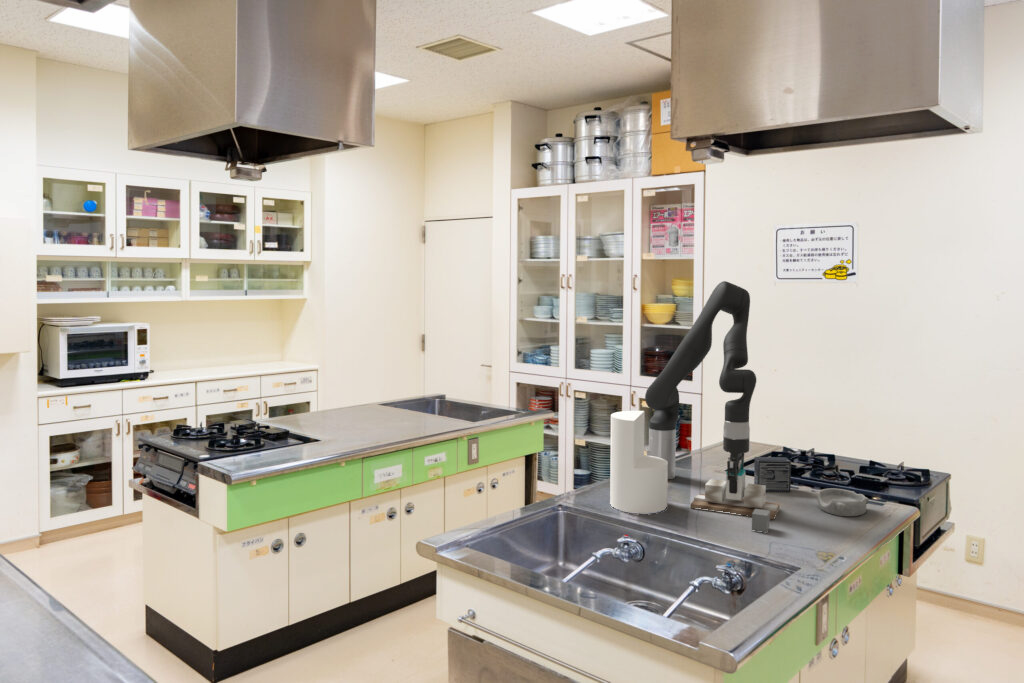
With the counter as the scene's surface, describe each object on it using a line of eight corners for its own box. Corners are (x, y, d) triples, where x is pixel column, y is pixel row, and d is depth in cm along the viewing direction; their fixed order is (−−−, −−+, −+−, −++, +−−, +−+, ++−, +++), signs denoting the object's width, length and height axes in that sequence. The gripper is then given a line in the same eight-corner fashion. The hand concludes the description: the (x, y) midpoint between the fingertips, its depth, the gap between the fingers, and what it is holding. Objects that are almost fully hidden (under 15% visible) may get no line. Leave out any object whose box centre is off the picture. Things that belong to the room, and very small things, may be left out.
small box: (786, 487, 250) (786, 456, 249) (791, 493, 244) (792, 461, 243) (753, 486, 251) (754, 456, 250) (757, 492, 245) (758, 460, 244)
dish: (845, 520, 216) (846, 503, 216) (806, 507, 229) (807, 491, 228) (878, 513, 223) (879, 496, 223) (839, 501, 235) (839, 485, 235)
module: (725, 498, 226) (726, 472, 225) (729, 493, 231) (730, 467, 230) (741, 500, 224) (741, 473, 223) (744, 495, 229) (745, 469, 228)
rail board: (690, 508, 228) (690, 485, 227) (699, 498, 238) (700, 475, 238) (773, 520, 217) (774, 495, 216) (779, 508, 227) (780, 484, 227)
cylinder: (604, 511, 226) (605, 419, 223) (616, 495, 242) (617, 409, 240) (662, 517, 220) (663, 422, 218) (671, 500, 236) (672, 412, 234)
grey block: (751, 531, 208) (752, 513, 207) (754, 526, 212) (755, 508, 212) (766, 533, 206) (767, 515, 205) (769, 528, 210) (770, 510, 210)
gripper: (728, 429, 234) (727, 483, 235) (718, 438, 221) (717, 495, 222) (753, 432, 230) (752, 486, 232) (745, 441, 218) (743, 498, 219)
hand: (735, 490), depth 227 cm, fingers closed on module, 6 cm apart
